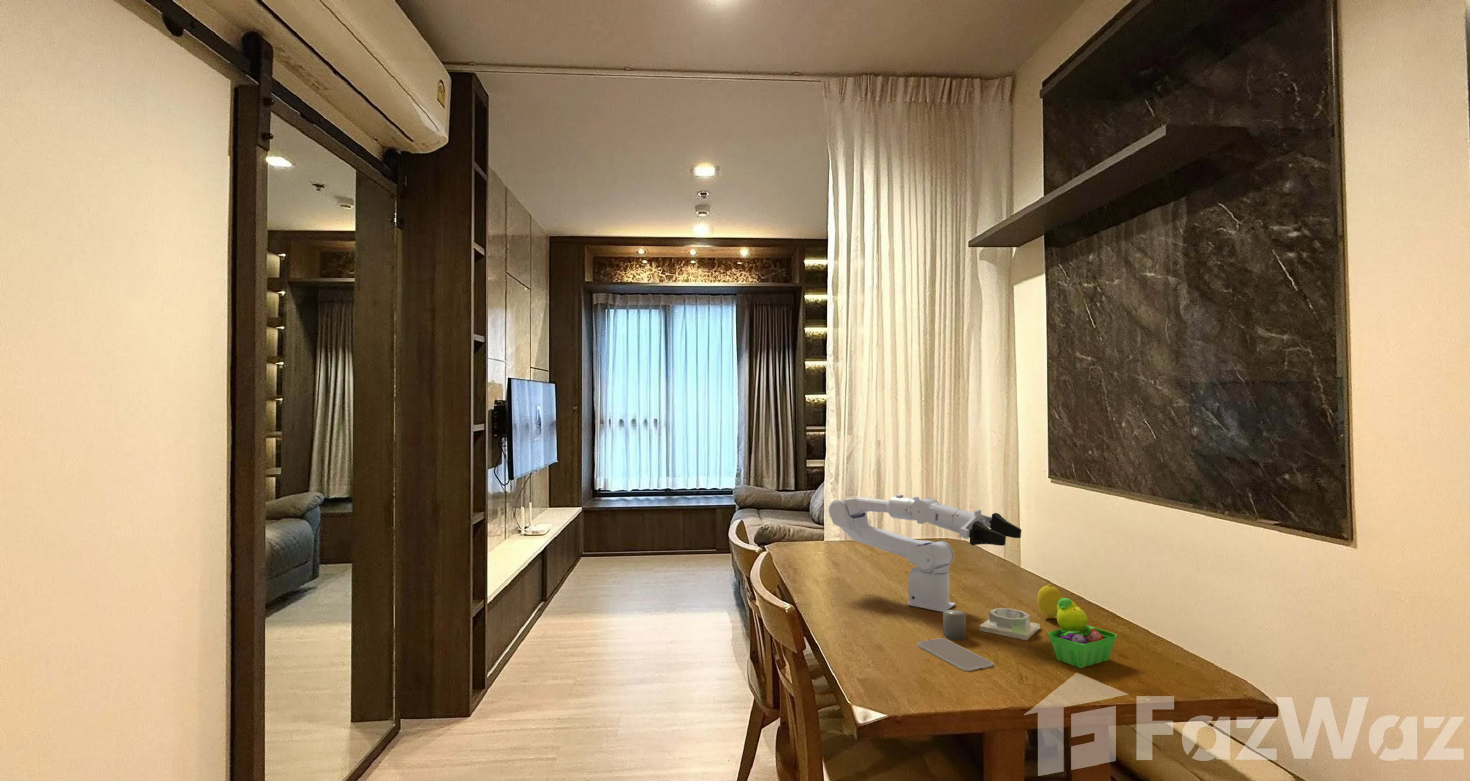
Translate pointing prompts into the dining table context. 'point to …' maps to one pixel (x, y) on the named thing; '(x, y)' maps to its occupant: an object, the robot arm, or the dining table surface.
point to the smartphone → (954, 654)
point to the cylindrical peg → (954, 624)
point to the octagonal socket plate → (1010, 623)
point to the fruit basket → (1079, 637)
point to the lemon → (1048, 600)
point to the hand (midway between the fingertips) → (1012, 537)
